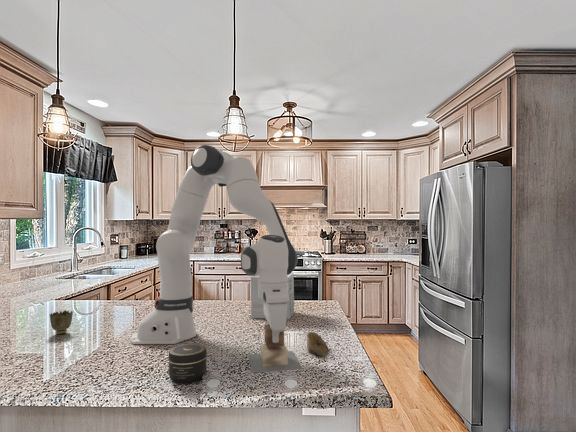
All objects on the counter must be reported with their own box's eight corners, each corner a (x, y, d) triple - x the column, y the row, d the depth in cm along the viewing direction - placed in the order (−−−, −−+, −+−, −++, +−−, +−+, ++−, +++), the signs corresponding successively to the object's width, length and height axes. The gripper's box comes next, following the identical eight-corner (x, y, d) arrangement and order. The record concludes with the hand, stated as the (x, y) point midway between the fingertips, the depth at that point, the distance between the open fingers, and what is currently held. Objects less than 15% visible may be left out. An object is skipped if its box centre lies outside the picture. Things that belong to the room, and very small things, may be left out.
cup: (77, 332, 142) (77, 311, 142) (58, 337, 135) (58, 315, 135) (64, 330, 145) (64, 309, 145) (45, 335, 138) (45, 313, 138)
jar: (204, 384, 95) (203, 354, 96) (164, 386, 95) (164, 356, 95) (209, 369, 105) (209, 342, 106) (173, 370, 105) (173, 343, 105)
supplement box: (294, 312, 170) (294, 272, 170) (289, 320, 157) (289, 277, 157) (258, 311, 173) (257, 272, 173) (250, 318, 160) (250, 276, 160)
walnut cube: (266, 347, 106) (266, 329, 106) (264, 341, 111) (264, 324, 111) (284, 345, 107) (283, 328, 107) (281, 340, 112) (281, 323, 112)
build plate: (252, 376, 100) (252, 372, 100) (248, 357, 114) (248, 354, 114) (302, 372, 103) (302, 368, 103) (292, 354, 117) (292, 351, 117)
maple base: (263, 366, 104) (263, 352, 104) (260, 357, 111) (260, 344, 111) (288, 364, 106) (287, 350, 106) (283, 355, 113) (283, 342, 113)
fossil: (309, 342, 110) (308, 325, 120) (299, 352, 111) (299, 334, 121) (331, 360, 111) (329, 342, 121) (321, 370, 112) (320, 351, 122)
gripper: (258, 285, 118) (259, 328, 118) (267, 298, 98) (267, 351, 98) (278, 284, 120) (278, 327, 119) (290, 297, 99) (290, 349, 99)
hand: (273, 338), depth 109 cm, fingers closed on walnut cube, 5 cm apart
